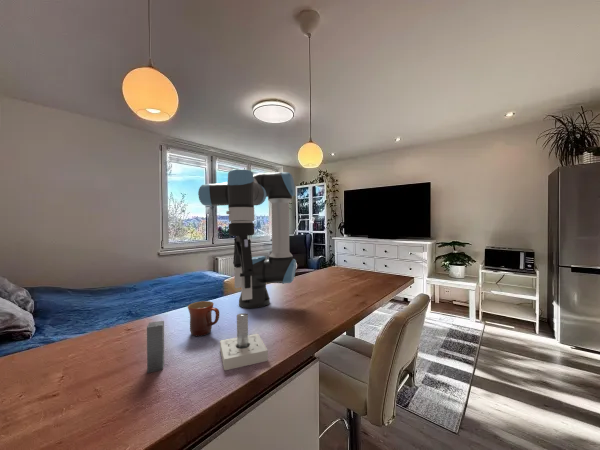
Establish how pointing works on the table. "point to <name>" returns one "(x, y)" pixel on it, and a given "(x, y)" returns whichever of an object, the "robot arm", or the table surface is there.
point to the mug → (202, 317)
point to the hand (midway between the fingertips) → (242, 293)
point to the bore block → (243, 352)
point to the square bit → (155, 346)
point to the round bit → (242, 330)
